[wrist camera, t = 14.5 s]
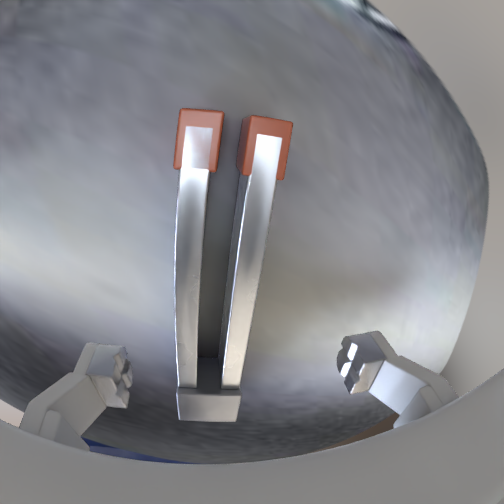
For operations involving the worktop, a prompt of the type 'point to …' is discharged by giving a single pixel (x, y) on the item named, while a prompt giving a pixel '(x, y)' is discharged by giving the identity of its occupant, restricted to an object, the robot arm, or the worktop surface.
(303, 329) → the worktop surface
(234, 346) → the tongs
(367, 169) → the worktop surface
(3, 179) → the worktop surface
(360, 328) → the worktop surface
